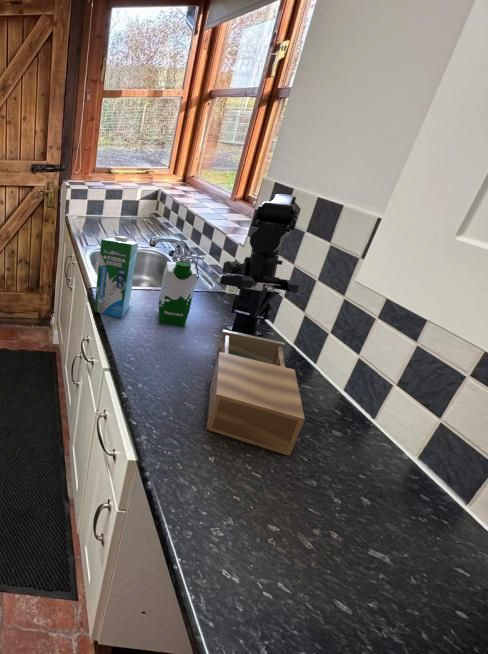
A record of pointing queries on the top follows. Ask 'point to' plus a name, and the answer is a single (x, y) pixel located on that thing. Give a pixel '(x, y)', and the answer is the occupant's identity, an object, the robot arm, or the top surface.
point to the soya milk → (176, 293)
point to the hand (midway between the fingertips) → (253, 317)
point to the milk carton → (115, 275)
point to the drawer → (252, 347)
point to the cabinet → (255, 403)
